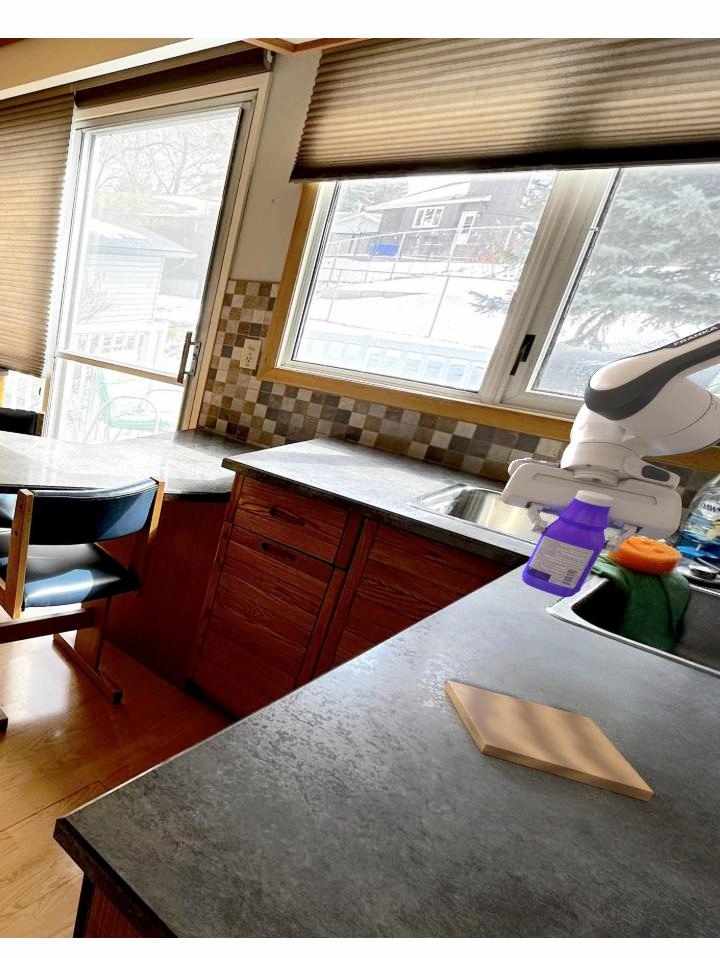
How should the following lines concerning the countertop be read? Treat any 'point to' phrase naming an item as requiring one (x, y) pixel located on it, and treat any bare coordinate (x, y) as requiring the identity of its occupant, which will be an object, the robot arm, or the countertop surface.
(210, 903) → the countertop surface
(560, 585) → the bottle
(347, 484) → the countertop surface
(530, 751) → the board
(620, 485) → the robot arm
